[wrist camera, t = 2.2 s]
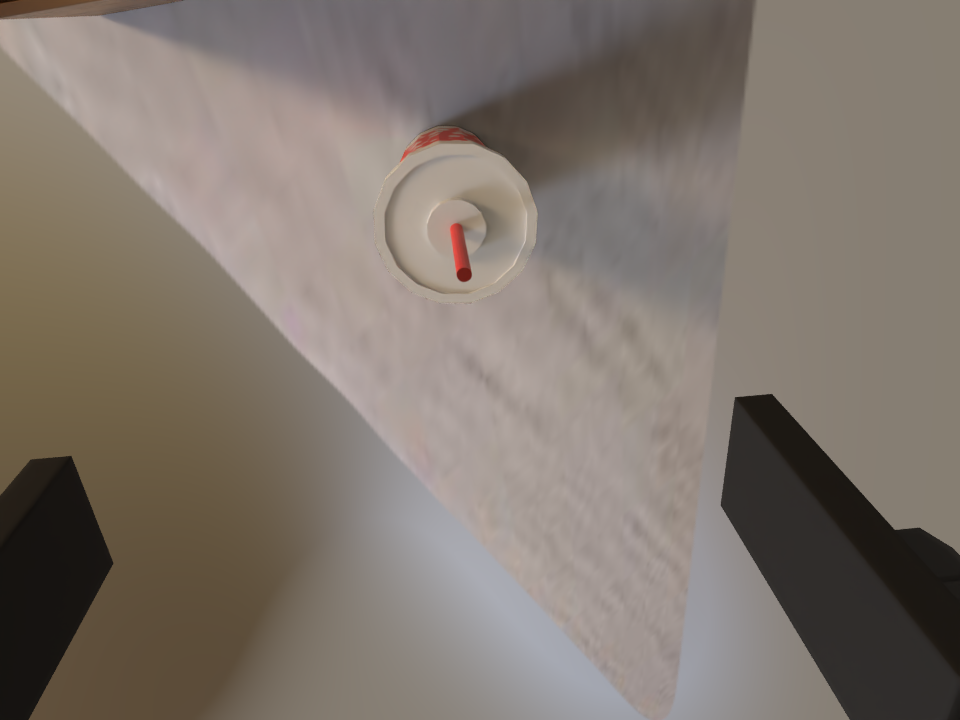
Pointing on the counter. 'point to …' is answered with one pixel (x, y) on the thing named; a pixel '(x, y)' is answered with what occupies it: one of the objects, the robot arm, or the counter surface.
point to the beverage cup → (454, 218)
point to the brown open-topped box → (70, 7)
